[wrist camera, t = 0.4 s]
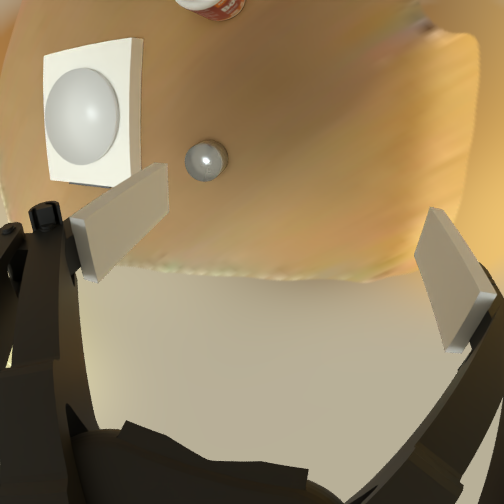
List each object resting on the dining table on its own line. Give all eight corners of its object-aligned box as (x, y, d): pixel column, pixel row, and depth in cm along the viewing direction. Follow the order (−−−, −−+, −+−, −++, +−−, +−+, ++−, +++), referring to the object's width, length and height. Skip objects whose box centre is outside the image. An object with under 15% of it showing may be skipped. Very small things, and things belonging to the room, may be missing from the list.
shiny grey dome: (194, 138, 41) (185, 142, 38) (229, 141, 40) (222, 146, 37) (193, 172, 43) (184, 179, 41) (227, 177, 42) (220, 183, 40)
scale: (54, 55, 37) (36, 57, 33) (143, 38, 34) (126, 36, 30) (60, 176, 49) (44, 184, 45) (142, 185, 46) (127, 195, 42)
